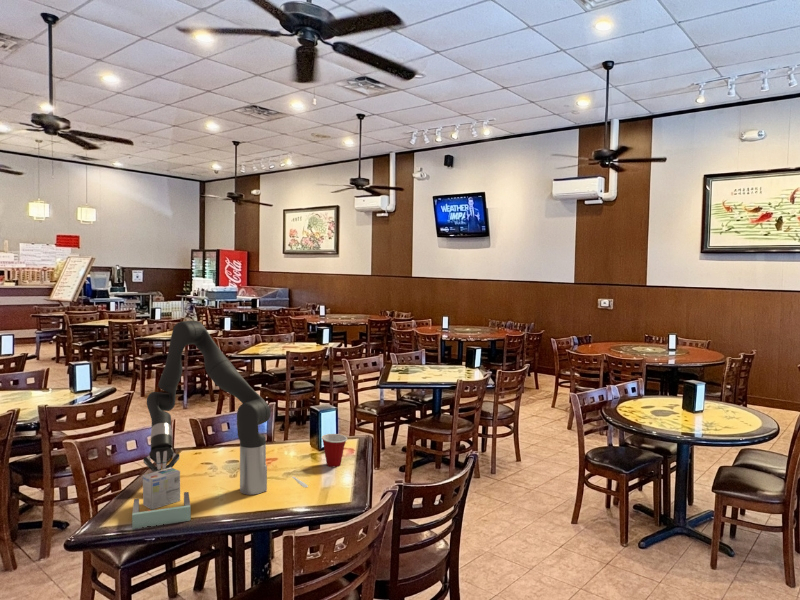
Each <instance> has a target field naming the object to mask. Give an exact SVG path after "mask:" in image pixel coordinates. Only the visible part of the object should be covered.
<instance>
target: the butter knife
mask: <svg viewBox="0 0 800 600" xmlns="http://www.w3.org/2000/svg"><path fill="white" fill-rule="evenodd" d="M291 477H292V479H293V480H295V481H296V482H297V484H299V485H300V486H301V487H303V488H305V489H306V488H308V487H309V485H308V484H307V483H305V482H303V481H302V480H300V479H298V478H297V477H296V476H291Z"/></svg>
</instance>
